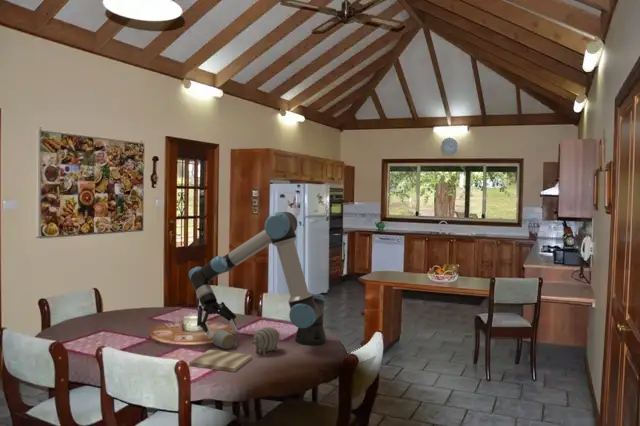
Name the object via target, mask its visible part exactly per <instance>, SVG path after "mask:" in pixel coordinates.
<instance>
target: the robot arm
mask: <svg viewBox="0 0 640 426" xmlns="http://www.w3.org/2000/svg"><path fill="white" fill-rule="evenodd" d="M297 229H298V220H297V218H296V216H295V215H294V214H293V213H292V212H289V211H281V212H280V211H279V212H274V213H272V214H271V215H269V216H267V219H266V220H265V222H264V229H263V230H262V231H260V232H258V233H257V234H256V235H254V236H252V237H251V238H249V239H248V240H246V241H245V242H244V243H242V244H240V245H238V247H237V246H236V248H234V249H232V250H231V251H230V252H228V253H227V254H225V255H224V256H221V255H217V256H215V257H214V258H212V259H211V260H209V262H207V263H206V264H205V265H204V266H203V267H202V266H195V267H194V268H193V267H192V269H190V270H189V272H188V277H189V280H190V283H191V284H192V286H193V287H192V288H193V289H194V291H195V293H196V296H197V299H198V300H199V305H198V306H197V308H196V310H197V319H196V320H197V321H196V326H197V327H199V326H200V328H202V329H203V330H202V331H203V332H204V333H205V334H206V335H207V337H208V338H207V339H208V340H211V339H212V338H213V335H214V334H213V333H212V330H211V328H210V326H209V324H208V323H207V321H208V317H209V315H216V314H217V315H219V316H221V317H222V318H224V319H225V320H227V321H228V325H229V327H230V328H231V331H232V334H233V335H236V334H237V333H238V328H237V323H236V321H235V319H236V318H237V315H236V314H235V313H234V312H233V311H232V310H231V309H229V307H228V306H227V305H226V304H225V302H224V301H222V302H221V303H219V302H218V299H217V297H216V294H215V293H214V291H213V288H212V286H211V284H210V282H211V281H213V280H214V279H215V278H217V276H219V275H222V274H224V273H227V272H230V271H232V270H233V269H234V268H235V267H237V266H238V265H240V264H241V263H243V262H245V261H247V260H248V259H249V258H251V257H252V256H254V255H255V254H257V253H259V252H260V251H261V250H263V249H264V248H265V249H266V247H268V246H269V245H271V244H272V245H273V246H274V247H276V250H277V253H278V256H279V261H280V264H281V265H280V266H281V269H282V271H283V275H284V280H285V283H286V285H287V290H288V293H289V296H290V297H289V299H288V307H289V309H290V310H289V315H288V316H289V320H290V323H291V324H292V325H293V326H295V327H297V330H296V333H295V336H294V340H295V342H296V343H298V344H301V345H307V346H319V345H323V344H325V343H326V342H327V336H326V331H325V327H324V314H325V296H324V295H323V294H319V293H311V292H310V291H309V290H308V286H307V282H306V278H305V274H304V271H303V268H302V264H301V260H300V258H299V253H298V249H297V247H296V243H295V242H296V239H297V234H296V230H297ZM203 311H204V312H205V313H204V316H203Z"/></svg>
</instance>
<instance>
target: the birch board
mask: <svg viewBox="0 0 640 426" xmlns="http://www.w3.org/2000/svg"><path fill="white" fill-rule="evenodd" d="M252 359H253V358H252V354H246V353H236V352H230V351H223V350H216V349H208V350H206V351H205V352H203V353H202V354H200V355H198V356H197V357H194V358H193V359H192V360H190V361H189V362H188V366H190V367H196V368H203V369H210V370H218V371H225V372H232V373H235V372H236V371H238V370H239V369H240V368H242V367H243V366H244V365H246V364H247V363H248V362H249V361H251V360H252Z"/></svg>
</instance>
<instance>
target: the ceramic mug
mask: <svg viewBox="0 0 640 426" xmlns="http://www.w3.org/2000/svg"><path fill="white" fill-rule="evenodd" d="M212 335H213V336H212V343H213V344H214V346H216V347H218V348H221V349H223V350H229V349H231V348H233V347H234V346H235V347H237V345H238V342H237V341H236V338H235V336H234V334H233V333H230V332H228V331H227V330H224V329H221V328H219V329H218V330H216V331H214V333H213V334H212Z"/></svg>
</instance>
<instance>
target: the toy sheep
mask: <svg viewBox="0 0 640 426" xmlns="http://www.w3.org/2000/svg"><path fill="white" fill-rule="evenodd" d="M280 334H281V333H280V332H279V331H278V330H277V328H275V327H270V326H269V327H262V328H260V329H259V330H257V331H256V332H255V334H253V340H252V341H251V342H250V343H251V345H254V346H255V353H256V354H258V353H259V352H260V351H262V355H263V356H265V355H266V352H271V351H272V350H273V349H274V350H273V351H274V352H277V351H278V345H279V342H280Z"/></svg>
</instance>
